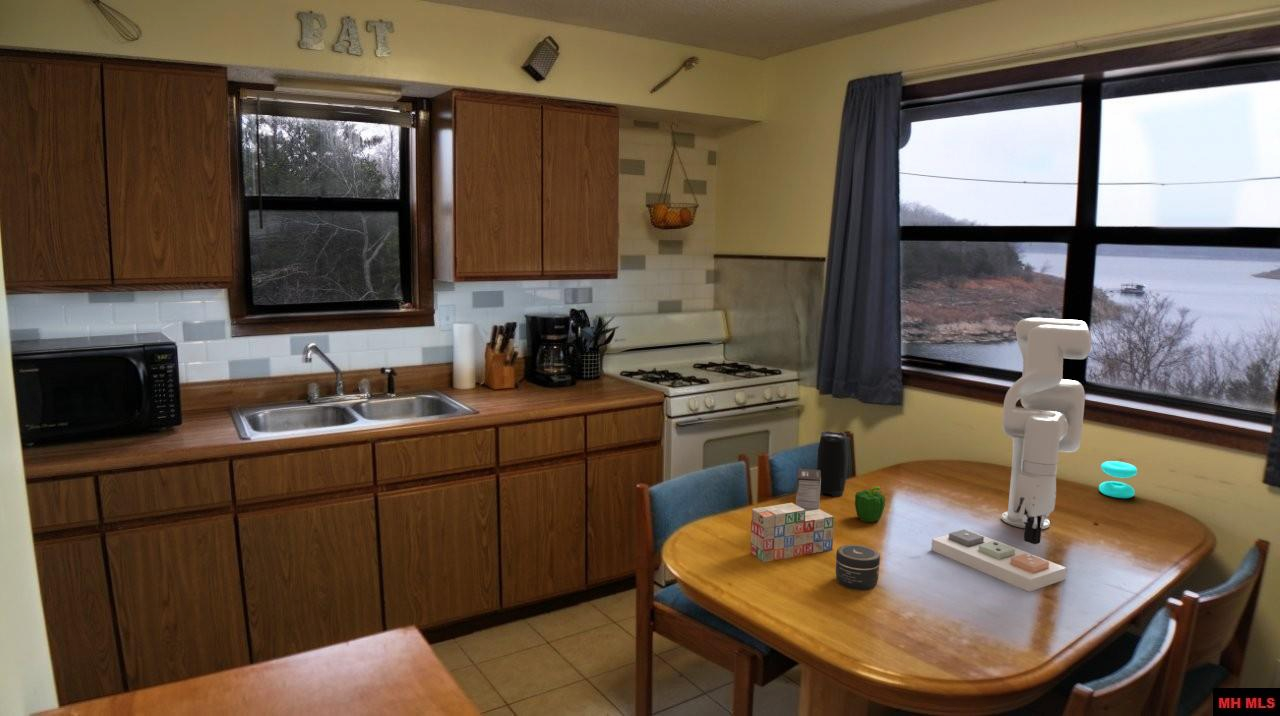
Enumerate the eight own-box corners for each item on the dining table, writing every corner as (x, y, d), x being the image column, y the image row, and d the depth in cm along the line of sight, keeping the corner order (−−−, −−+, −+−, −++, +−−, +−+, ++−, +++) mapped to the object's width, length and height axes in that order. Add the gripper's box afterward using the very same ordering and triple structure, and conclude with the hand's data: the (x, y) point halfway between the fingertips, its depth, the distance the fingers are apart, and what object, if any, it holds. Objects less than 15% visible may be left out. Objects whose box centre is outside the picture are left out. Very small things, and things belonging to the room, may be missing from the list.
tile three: (1025, 563, 196) (1026, 552, 195) (1048, 572, 191) (1049, 561, 190) (1009, 568, 193) (1010, 556, 192) (1032, 577, 188) (1033, 565, 187)
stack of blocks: (818, 541, 213) (820, 497, 211) (832, 550, 207) (835, 505, 205) (749, 553, 204) (751, 507, 203) (762, 562, 199) (764, 515, 197)
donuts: (1144, 466, 252) (1124, 470, 248) (1141, 497, 253) (1121, 501, 249) (1114, 458, 261) (1094, 462, 257) (1111, 488, 262) (1091, 491, 258)
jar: (871, 595, 181) (873, 564, 180) (828, 585, 186) (830, 554, 185) (883, 580, 190) (885, 549, 188) (842, 570, 195) (844, 540, 194)
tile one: (963, 539, 211) (964, 528, 211) (983, 546, 206) (984, 536, 206) (948, 543, 208) (949, 532, 208) (967, 551, 203) (968, 540, 203)
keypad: (966, 540, 215) (967, 529, 215) (1065, 579, 191) (1066, 567, 191) (931, 549, 208) (932, 538, 208) (1029, 591, 184) (1030, 579, 184)
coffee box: (795, 522, 227) (797, 468, 224) (817, 524, 226) (820, 469, 223) (794, 533, 218) (797, 477, 216) (818, 535, 217) (821, 479, 214)
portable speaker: (812, 489, 256) (814, 430, 253) (839, 488, 258) (842, 430, 255) (821, 498, 248) (824, 437, 245) (850, 497, 249) (853, 436, 246)
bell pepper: (851, 522, 227) (853, 488, 226) (855, 513, 235) (857, 480, 233) (882, 526, 224) (884, 492, 223) (885, 517, 232) (887, 484, 230)
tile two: (993, 550, 203) (994, 539, 203) (1014, 559, 198) (1015, 548, 198) (977, 555, 200) (978, 544, 200) (998, 563, 195) (999, 552, 195)
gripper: (1043, 460, 194) (1036, 532, 197) (1004, 467, 187) (997, 542, 189) (1072, 468, 188) (1065, 542, 190) (1034, 475, 181) (1026, 552, 183)
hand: (1031, 542), depth 190 cm, fingers closed
